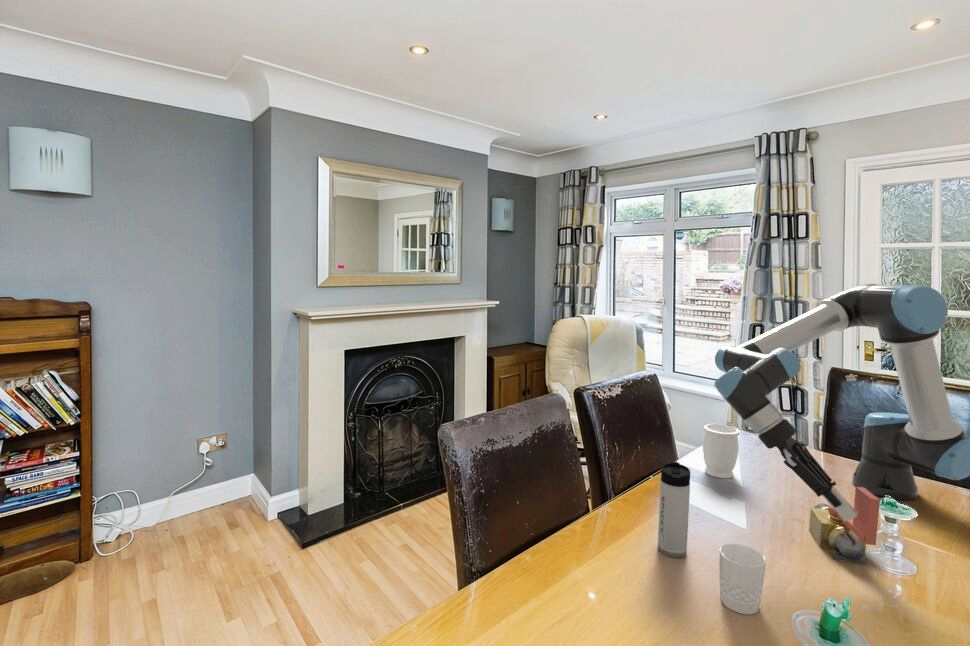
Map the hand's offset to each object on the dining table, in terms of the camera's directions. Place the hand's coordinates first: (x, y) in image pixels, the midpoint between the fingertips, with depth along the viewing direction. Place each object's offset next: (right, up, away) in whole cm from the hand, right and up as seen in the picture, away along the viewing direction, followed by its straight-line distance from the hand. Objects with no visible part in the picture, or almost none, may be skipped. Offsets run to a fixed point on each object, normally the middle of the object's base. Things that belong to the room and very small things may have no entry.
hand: (851, 517), depth 106 cm
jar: (-5, -6, +51) cm, 51 cm away
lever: (+3, -4, +4) cm, 6 cm away
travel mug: (-37, -10, +7) cm, 39 cm away
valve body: (+4, -10, +11) cm, 15 cm away
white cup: (-31, -12, -11) cm, 35 cm away
